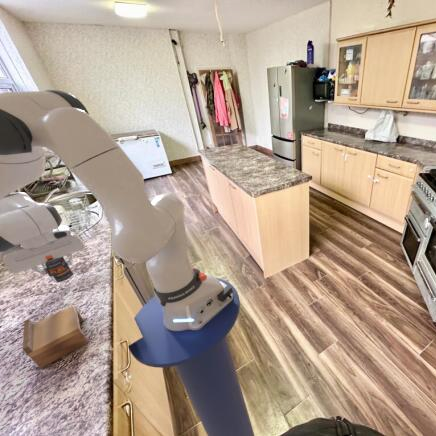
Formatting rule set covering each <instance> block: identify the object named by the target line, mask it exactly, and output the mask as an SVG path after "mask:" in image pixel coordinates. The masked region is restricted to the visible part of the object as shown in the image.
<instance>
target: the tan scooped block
mask: <svg viewBox="0 0 436 436" xmlns="http://www.w3.org/2000/svg"><path fill="white" fill-rule="evenodd" d="M82 322H84V318H83V316H82V314H81V313H80V311H78V309H77V307H76V306H75V304H73V305H71V306H69V307H67V308H65V309H63V310H60V311H58V312H56V313H53V314H52V315H49V316H47V317H45V318H43V319H41V320H39V321H36V322H33V321H32V320H31V319H30V318H29V319H26V320H24V321H23V339H22V350H23V351H24V353H25V354H26V355H27V356H28V357H29V358H30V359H31V360H32V361H33V362H34V364H36V366H38V367H39V368H40V369H43V368H45V367H46V366H48V365H50V364H52V363H54V362H55V361H57V360H59V359H61V358H63V357H65V356H67V355H68V354H70V353H72V352H74V351H76V350H77V349H78V348H81V347H82V346H84V345H87V344H88V343H89V339H88V337H87V336H86V335H85V333H84V331H83V330H82V329H81V325H80V323H82Z"/></svg>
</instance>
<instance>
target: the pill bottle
mask: <svg viewBox="0 0 436 436" xmlns="http://www.w3.org/2000/svg"><path fill="white" fill-rule="evenodd" d="M45 258H46V260H48V261H47V262H45V263H44V264H41V265H40V266H41V267H42V269H45V271H46V272H47V273H48V274H47V275H48V276H49V278H50V279H51V281H52V282H53V283H55V284H57V283H58V284H59V283H62V282H65V281H67V280H69V279H70V278H72V276H73V275H74V271H73V270H72V269H71V267H70V265H69V266H68V265H67V263H66V259H65V257H64V256H63V257H60V258H56V259H54V258H53V257H52V255H49V256H46V257H45Z"/></svg>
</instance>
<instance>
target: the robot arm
mask: <svg viewBox="0 0 436 436" xmlns="http://www.w3.org/2000/svg"><path fill="white" fill-rule="evenodd" d="M44 148H45V149H49V150H51V151H52V152H53V153H54V154H55V155H56V156H57V157H58V158H59V159H60V161H61V162H62V163H63V164H64V166H66V167H67V169H68V170H69V171H70V172H71V173H72V174H73V175H74V176H75V177H76V178H77V179H78V181H80V182H81V183H82V185H83V186H84V187H85V188H86V189H87V190H88V192H90V194H91V195H93V197H94V198H95V199H96V201H97V202H98V204H99V205H100V207H101V209H102V211H103V212H104V215H105V217H106V220H107V222H108V224H109V228H110V246H111V249H112V251H113V252H114V253H115V255H116V256H117V257H119V258H120V259H122V260H124V261H126V262H127V263H133V264H134V263H135V264H142V263H145V266H146V267H145V268H146V271H147V273H148V275H149V278H150V280H151V282H152V285H153V291H154V296H156V297H157V299H158V301H159V303H160V304H161V306H162V310H163V323H164V325H165V327H166V328H167V329H169V330H172V331H183V330H189V329H190V330H199V329H201V328H202V327H203V326H204V325H205V324H206V323H207V322H208V321H210V320H211V319H212V318H213V317H214V316H215V315H216V314H217V313H218V312H220V311H221V310H222V309H223V308H224V307H225V306H226V305H227V304H229V303H230V302H231V301H232V300H233V294H232V292H233V290H232V287H230V286H228V285H226V284H224V283H223V282H221V281H219V280H218V279H216V278H217V277H215V276H214V275H211V274H205V273H204V272H201V271H200V269H198V268H196V267H195V266H193V265H192V263H191V260H190V257H189V253H188V248H187V247H188V245H187V236H186V235H187V234H186V226H185V211H186V209H185V205H184V203H183V201H182V200H181V199H180V198H178V197H177V196H175V195H173V194H170V193H162V194H161V193H160V194H157V195H154V196H153V197H149V195H148V193H147V190H146V188H145V179H144V175H143V173H142V172H141V171H140V170H139V168H138V167H137V165H136V164H135V163H134V162H133V160H132V159H131V158H130V157H129V156H128V155H127V153H126V152H125V151H124V150H123V148H122V147H121V146H120V145H119V144H118V142H117V141H116V140H115V138H114V137H113V136H112V135H111V134H109V131H107V130H106V129H105V128H104V127H103V126H102V125H101V124H99V122H98V121H97V120H95V119H94V117H92V116H91V115H90V113H89V111H88V110H87V107H86V106H85V105H84V103H83V102H82V101H80V99H79V98H77V97H76V96H75V95H73V94H71V93H70V92H67V91H64V90H59V89H58V90H55V89H46V90H41V91H39V90H37V91H36V90H35V91H32V90H31V91H8V92H1V93H0V262H3V263H4V265H5V268H6V270H7V271H8V272H9V273H10V274H13V275H15V274H18V273H22V272H24V271H27V270H30V269H31V271H33V272H36V273H39V274H40V275H41V277H43V276H46V275H48V273H47V272H46V271H45V269H44V268H39V266H42V265H41V264H44V263H45V262H47V261H48V260H46V258H45V257H46V256H49V255H52V257H53V258H54V259H56V258H60V257H63V258H64V257H67V258H68V259H67V260H66V259H65V261H66V263H67V265H68V266H69V267H70V266H72V265H74V262H73V261H72V260H73V254H75V253H78V252H79V251H80V252H81V251H82V250H84V249H85V247H86V244H85V243H84V241H83V240H82V238H81V237H80V235H78V234H77V232H75V231H73V230H72V229H71V227H70V226H69V225H66V224H65V225H61V224H62V221H63V218H62V217H61V214H60V213H59V212H58V210H57V208H56V207H55V206H54V205H51V204H48V203H44V202H37V201H35V200H33V199H32V197H31V196H30V195H29V194H28V193H27V192H25V191H18V192H15V191H17V190H20V189H22V188H24V187H26V186H28V185H30V184H32V183H35V182H36V181H37V180H38V179H40V178H41V177H42V176H43V174H45V171H46V168H47V161H46V160H47V159H46V154H45V151H44Z"/></svg>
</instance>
